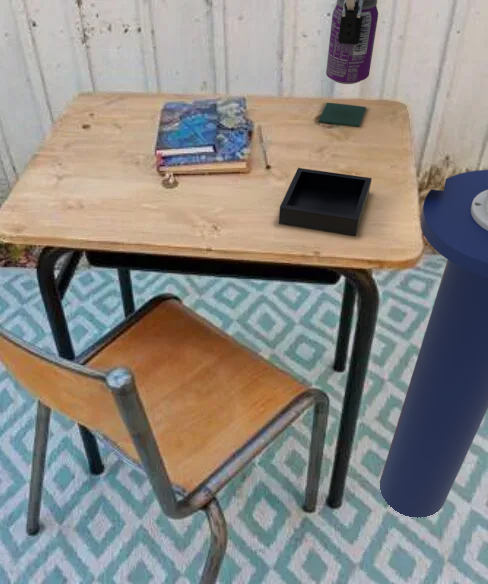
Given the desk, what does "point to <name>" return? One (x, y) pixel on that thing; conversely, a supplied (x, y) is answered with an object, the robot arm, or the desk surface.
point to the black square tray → (325, 201)
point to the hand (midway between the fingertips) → (353, 33)
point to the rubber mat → (342, 114)
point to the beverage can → (352, 46)
